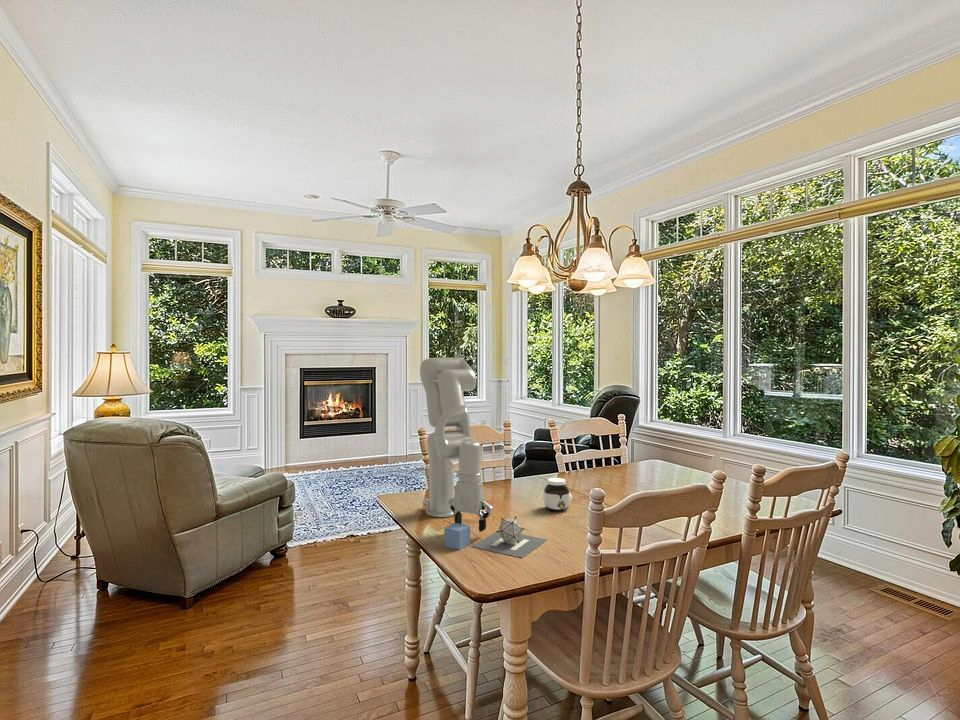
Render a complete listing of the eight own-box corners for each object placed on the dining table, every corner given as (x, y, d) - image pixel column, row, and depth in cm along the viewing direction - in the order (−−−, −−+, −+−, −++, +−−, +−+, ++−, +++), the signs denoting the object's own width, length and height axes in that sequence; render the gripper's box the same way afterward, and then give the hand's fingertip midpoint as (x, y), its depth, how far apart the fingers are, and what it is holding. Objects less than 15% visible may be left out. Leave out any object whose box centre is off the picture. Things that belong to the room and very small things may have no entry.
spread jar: (545, 512, 205) (545, 482, 205) (541, 503, 216) (541, 475, 216) (576, 512, 205) (576, 482, 205) (570, 503, 216) (570, 475, 216)
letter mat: (472, 546, 169) (472, 545, 169) (499, 530, 184) (499, 529, 184) (522, 558, 160) (522, 557, 160) (547, 539, 175) (547, 539, 175)
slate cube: (444, 546, 170) (444, 527, 170) (454, 540, 175) (454, 522, 175) (459, 550, 167) (459, 531, 167) (470, 544, 172) (470, 525, 172)
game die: (504, 554, 172) (486, 528, 173) (520, 538, 177) (502, 513, 179) (518, 548, 165) (499, 521, 167) (534, 532, 171) (516, 506, 172)
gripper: (442, 477, 181) (443, 526, 181) (486, 483, 172) (486, 535, 172) (455, 472, 187) (455, 520, 188) (497, 478, 178) (497, 529, 179)
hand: (470, 527), depth 180 cm, fingers open, 9 cm apart
